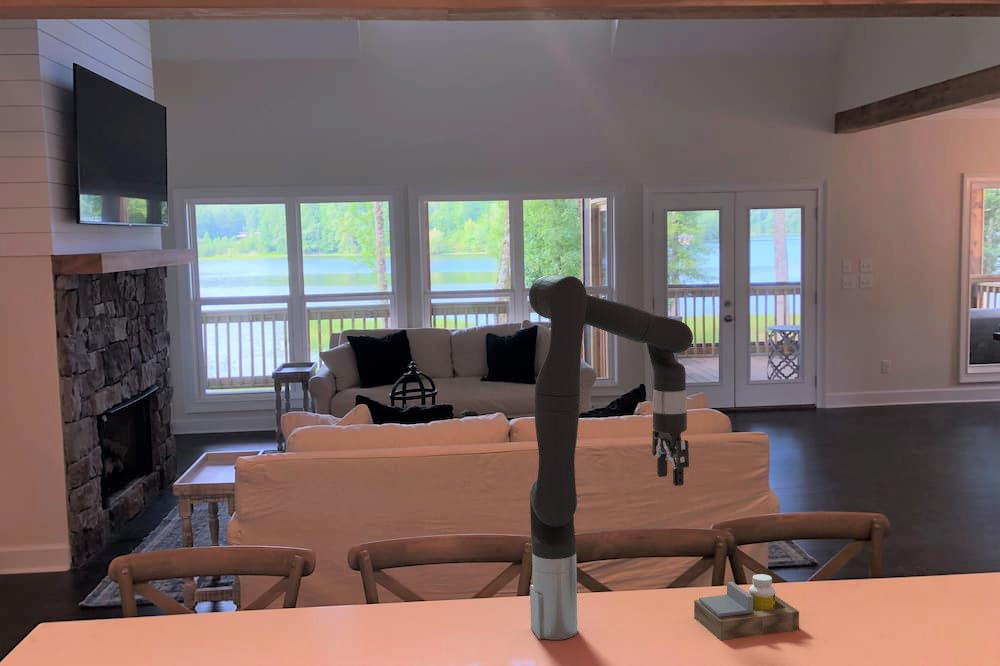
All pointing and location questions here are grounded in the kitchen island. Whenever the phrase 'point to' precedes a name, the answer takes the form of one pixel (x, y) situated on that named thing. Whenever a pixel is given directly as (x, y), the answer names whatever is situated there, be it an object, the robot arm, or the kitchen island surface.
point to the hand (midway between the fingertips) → (670, 480)
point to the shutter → (730, 602)
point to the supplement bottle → (762, 593)
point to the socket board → (749, 621)
